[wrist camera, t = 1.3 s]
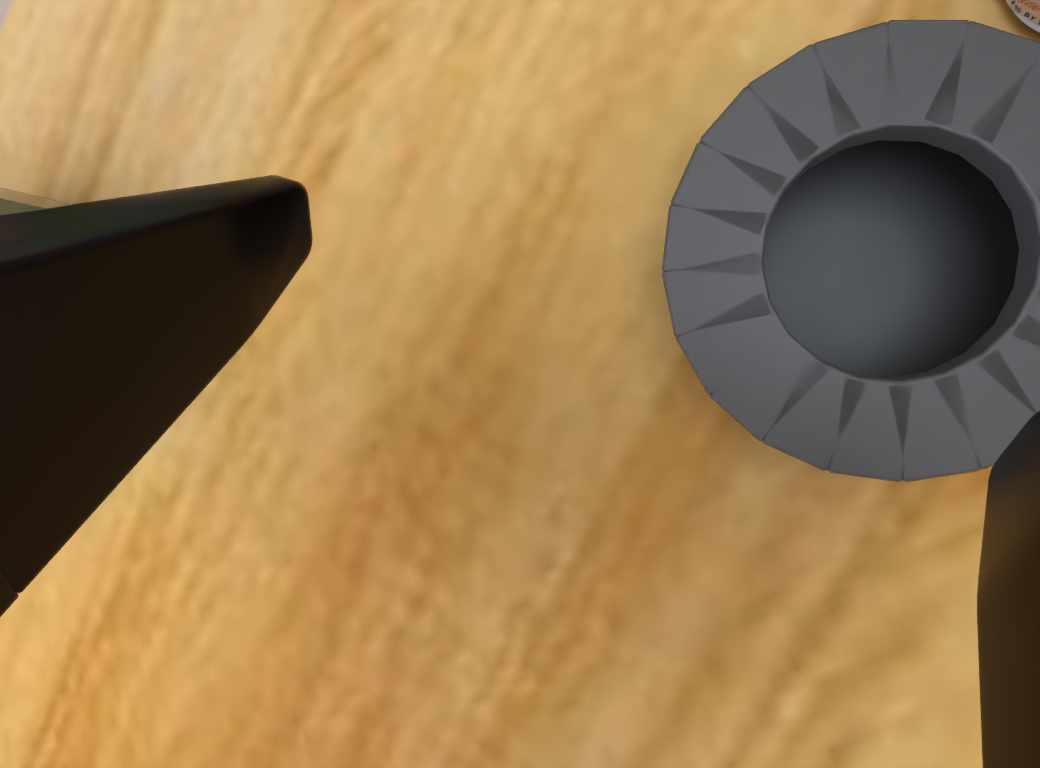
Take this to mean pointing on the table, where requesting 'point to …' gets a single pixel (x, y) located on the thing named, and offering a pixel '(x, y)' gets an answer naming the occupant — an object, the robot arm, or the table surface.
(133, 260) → the robot arm
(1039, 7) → the grey capped bottle
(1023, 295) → the grey pot
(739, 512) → the table surface
